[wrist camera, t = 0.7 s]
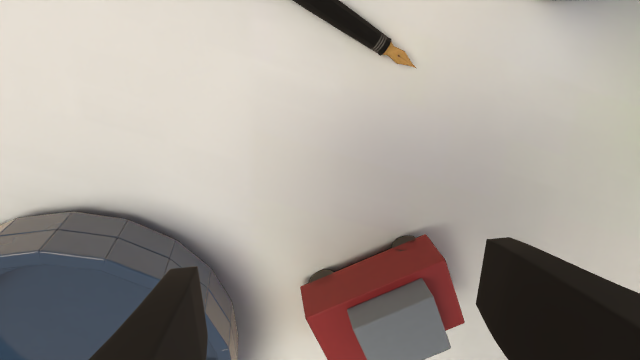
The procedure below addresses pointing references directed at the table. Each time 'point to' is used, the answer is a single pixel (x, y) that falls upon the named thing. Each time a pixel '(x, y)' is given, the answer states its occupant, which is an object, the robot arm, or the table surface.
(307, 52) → the table surface
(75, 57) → the table surface
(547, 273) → the robot arm
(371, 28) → the fountain pen
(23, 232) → the bowl
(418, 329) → the red block grey top
